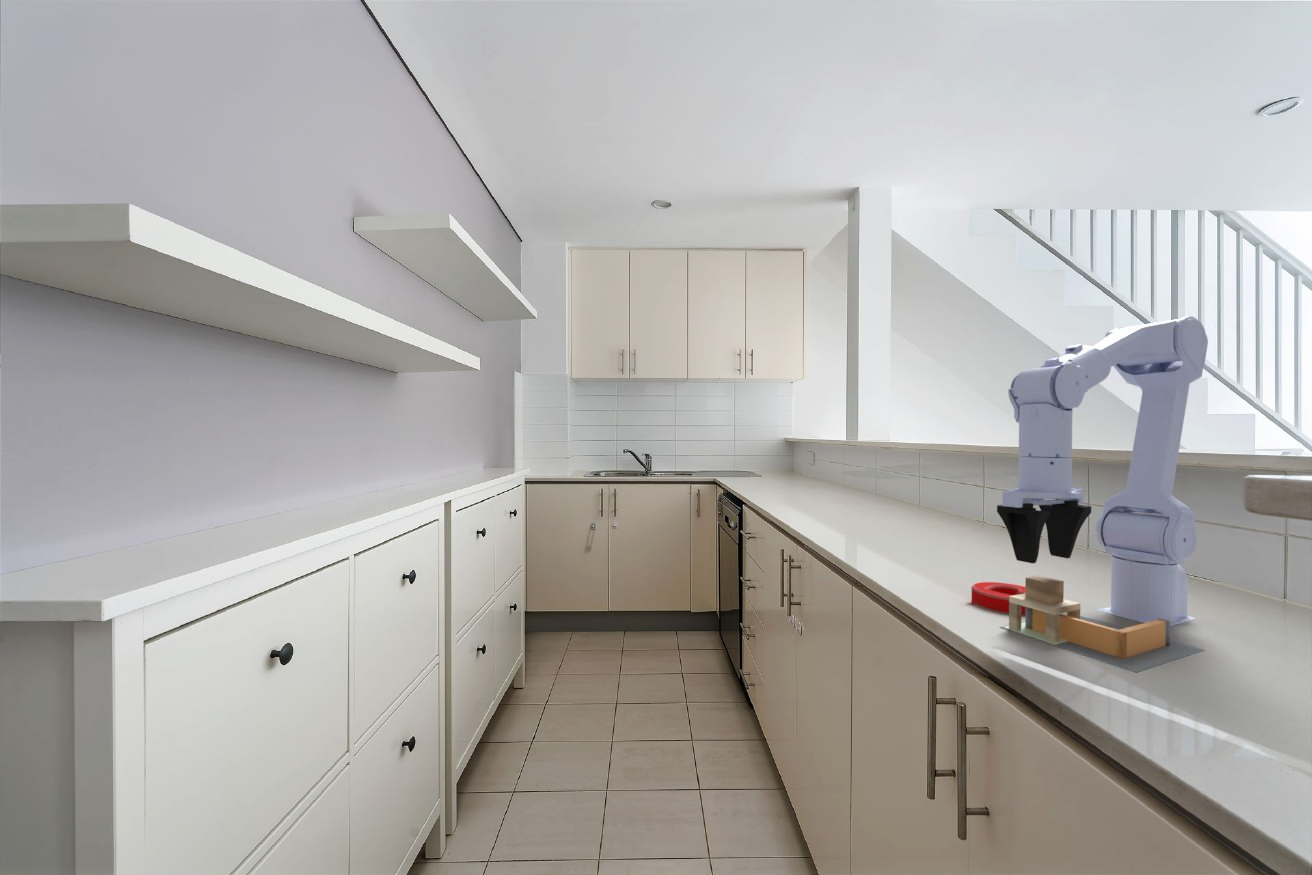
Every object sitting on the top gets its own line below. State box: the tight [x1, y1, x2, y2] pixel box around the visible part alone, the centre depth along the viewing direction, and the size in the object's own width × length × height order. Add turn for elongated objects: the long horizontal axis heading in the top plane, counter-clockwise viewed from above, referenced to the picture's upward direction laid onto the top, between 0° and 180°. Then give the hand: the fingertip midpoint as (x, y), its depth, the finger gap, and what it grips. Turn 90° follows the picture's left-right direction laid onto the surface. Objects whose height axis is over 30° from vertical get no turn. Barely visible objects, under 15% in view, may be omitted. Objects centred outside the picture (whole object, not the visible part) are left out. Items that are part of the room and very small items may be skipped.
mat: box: [999, 612, 1205, 673], centre depth 68 cm, size 16×15×1 cm
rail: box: [1024, 607, 1171, 659], centre depth 69 cm, size 11×11×3 cm
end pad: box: [1002, 621, 1068, 646], centre depth 70 cm, size 6×6×1 cm
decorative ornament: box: [971, 581, 1026, 616], centre depth 82 cm, size 10×10×3 cm
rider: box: [1008, 575, 1081, 643], centre depth 70 cm, size 6×6×7 cm
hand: (1043, 559), depth 70 cm, fingers open, 7 cm apart
